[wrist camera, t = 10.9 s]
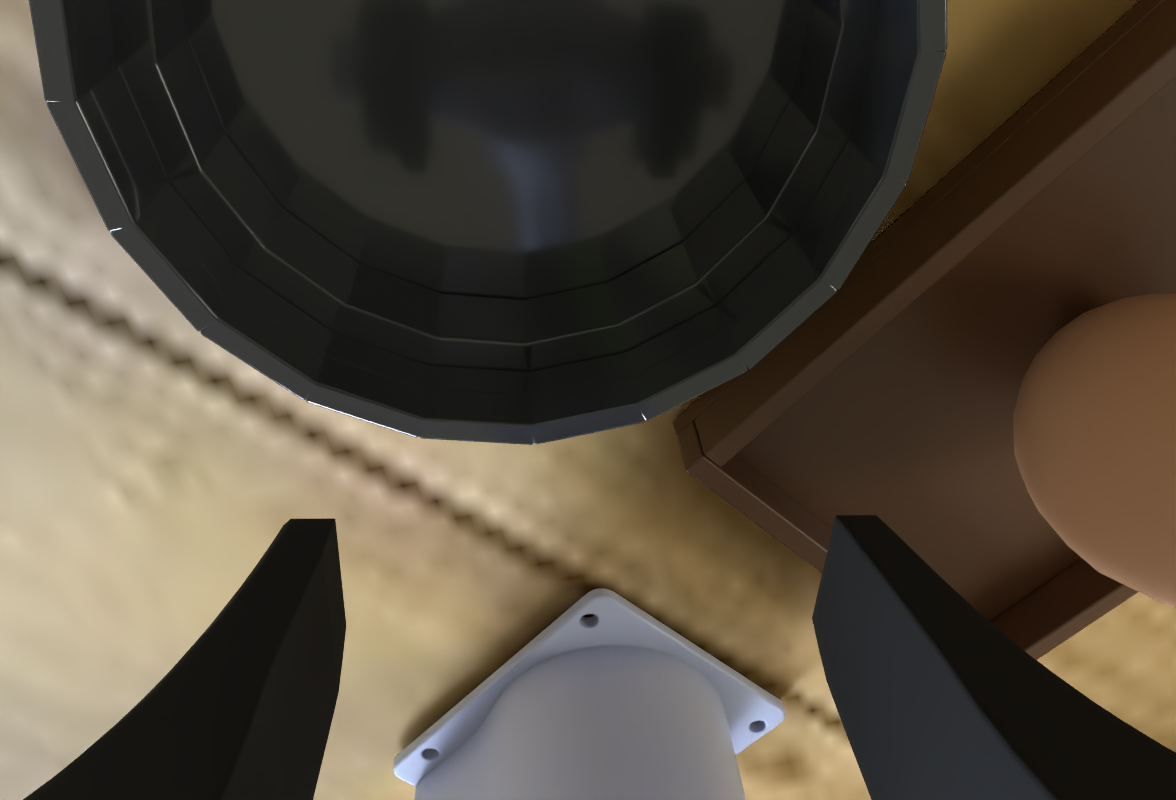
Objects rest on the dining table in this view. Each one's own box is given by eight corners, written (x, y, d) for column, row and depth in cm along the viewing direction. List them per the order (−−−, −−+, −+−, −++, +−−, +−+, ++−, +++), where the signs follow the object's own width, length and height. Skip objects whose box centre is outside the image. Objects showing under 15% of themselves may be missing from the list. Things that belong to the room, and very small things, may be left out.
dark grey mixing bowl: (536, 436, 25) (543, 556, 22) (-20, 42, 20) (-145, 113, 16) (1005, -13, 20) (1120, 41, 17) (446, -719, 15) (428, -882, 11)
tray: (956, 641, 31) (984, 695, 29) (671, 421, 26) (684, 471, 24) (1493, 266, 25) (1569, 306, 23) (1263, -111, 20) (1337, -97, 18)
